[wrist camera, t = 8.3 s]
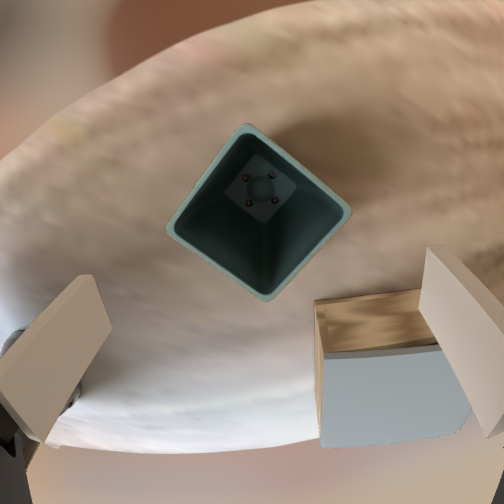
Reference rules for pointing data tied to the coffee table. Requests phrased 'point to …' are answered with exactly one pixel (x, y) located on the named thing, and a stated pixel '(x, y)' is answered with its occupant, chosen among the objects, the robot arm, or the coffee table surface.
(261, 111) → the coffee table surface
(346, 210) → the flower pot
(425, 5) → the coffee table surface
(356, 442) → the lid
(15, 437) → the robot arm
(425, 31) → the coffee table surface
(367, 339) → the crate
